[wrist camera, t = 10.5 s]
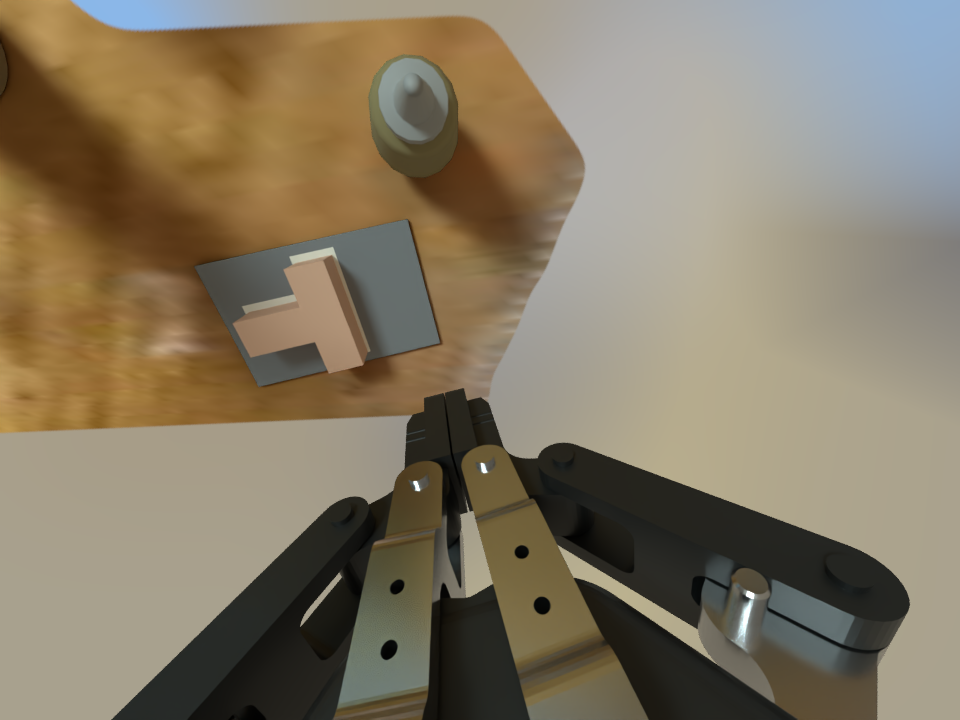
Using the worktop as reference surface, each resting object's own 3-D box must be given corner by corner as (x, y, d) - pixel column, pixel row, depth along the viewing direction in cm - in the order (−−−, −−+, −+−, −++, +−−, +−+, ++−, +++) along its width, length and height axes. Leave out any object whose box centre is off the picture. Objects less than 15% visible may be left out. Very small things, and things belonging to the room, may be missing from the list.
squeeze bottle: (357, 118, 35) (305, 50, 19) (425, 68, 35) (430, -47, 18) (407, 195, 39) (398, 192, 23) (469, 151, 38) (507, 115, 22)
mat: (196, 265, 38) (194, 266, 38) (407, 219, 40) (407, 219, 39) (260, 384, 45) (258, 386, 44) (439, 341, 46) (440, 343, 46)
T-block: (231, 277, 39) (212, 285, 35) (331, 254, 40) (323, 260, 36) (279, 373, 44) (267, 388, 41) (367, 351, 45) (363, 365, 41)
